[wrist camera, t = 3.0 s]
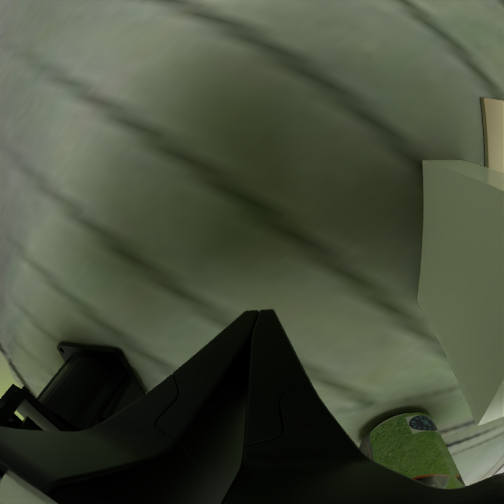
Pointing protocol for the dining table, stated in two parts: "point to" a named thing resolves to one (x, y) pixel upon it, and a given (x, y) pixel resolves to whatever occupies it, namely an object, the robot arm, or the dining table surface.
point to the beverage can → (413, 450)
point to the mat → (493, 133)
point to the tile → (466, 276)
